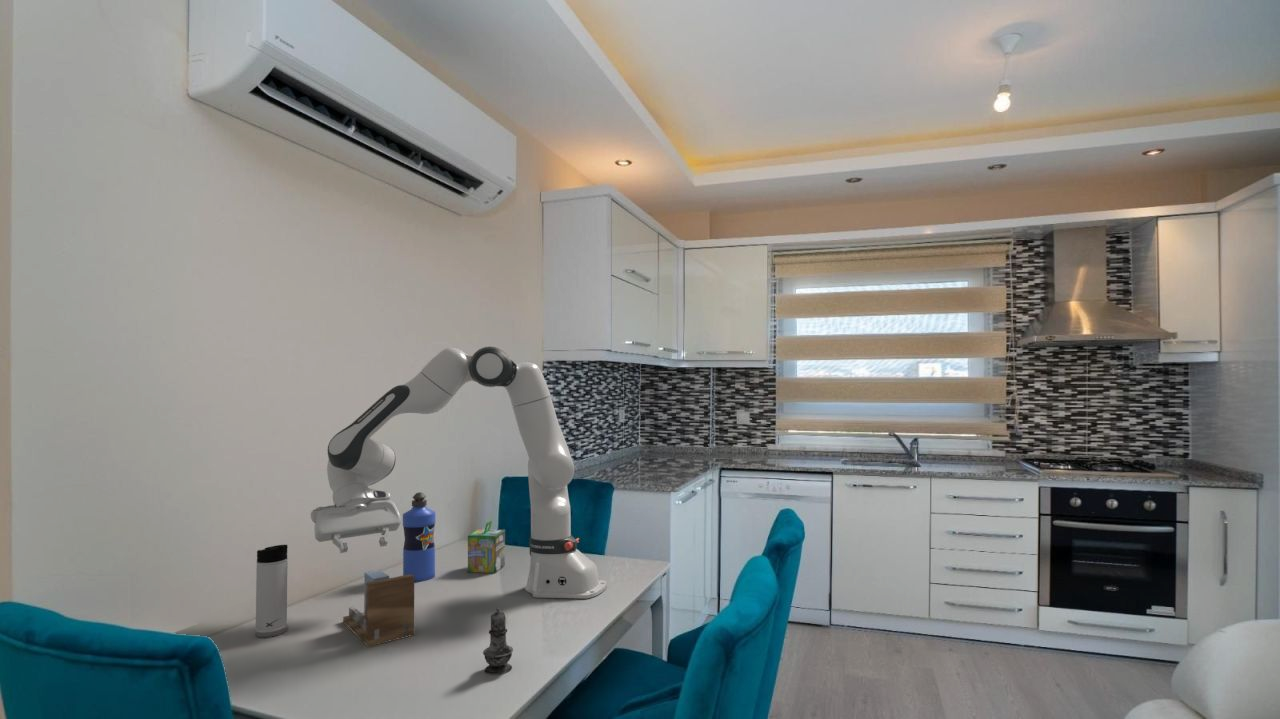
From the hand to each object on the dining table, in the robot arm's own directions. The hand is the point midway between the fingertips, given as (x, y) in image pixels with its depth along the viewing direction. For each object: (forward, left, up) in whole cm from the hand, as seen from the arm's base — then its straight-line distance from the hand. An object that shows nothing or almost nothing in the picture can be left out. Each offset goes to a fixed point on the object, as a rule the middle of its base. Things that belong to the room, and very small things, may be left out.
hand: (364, 548), depth 159 cm
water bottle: (+8, -32, -17) cm, 38 cm away
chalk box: (-7, -45, -17) cm, 49 cm away
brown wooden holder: (-9, +6, -17) cm, 20 cm away
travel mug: (+13, +15, -17) cm, 26 cm away
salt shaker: (-48, +18, -17) cm, 54 cm away
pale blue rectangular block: (-8, +5, -16) cm, 18 cm away
